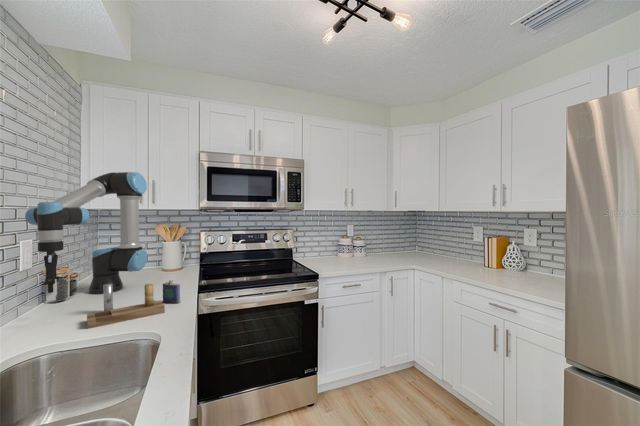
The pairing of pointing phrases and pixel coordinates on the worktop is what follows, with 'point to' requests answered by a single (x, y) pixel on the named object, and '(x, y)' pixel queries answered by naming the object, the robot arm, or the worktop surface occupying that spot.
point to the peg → (108, 297)
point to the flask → (171, 293)
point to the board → (127, 311)
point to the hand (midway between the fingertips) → (51, 298)
